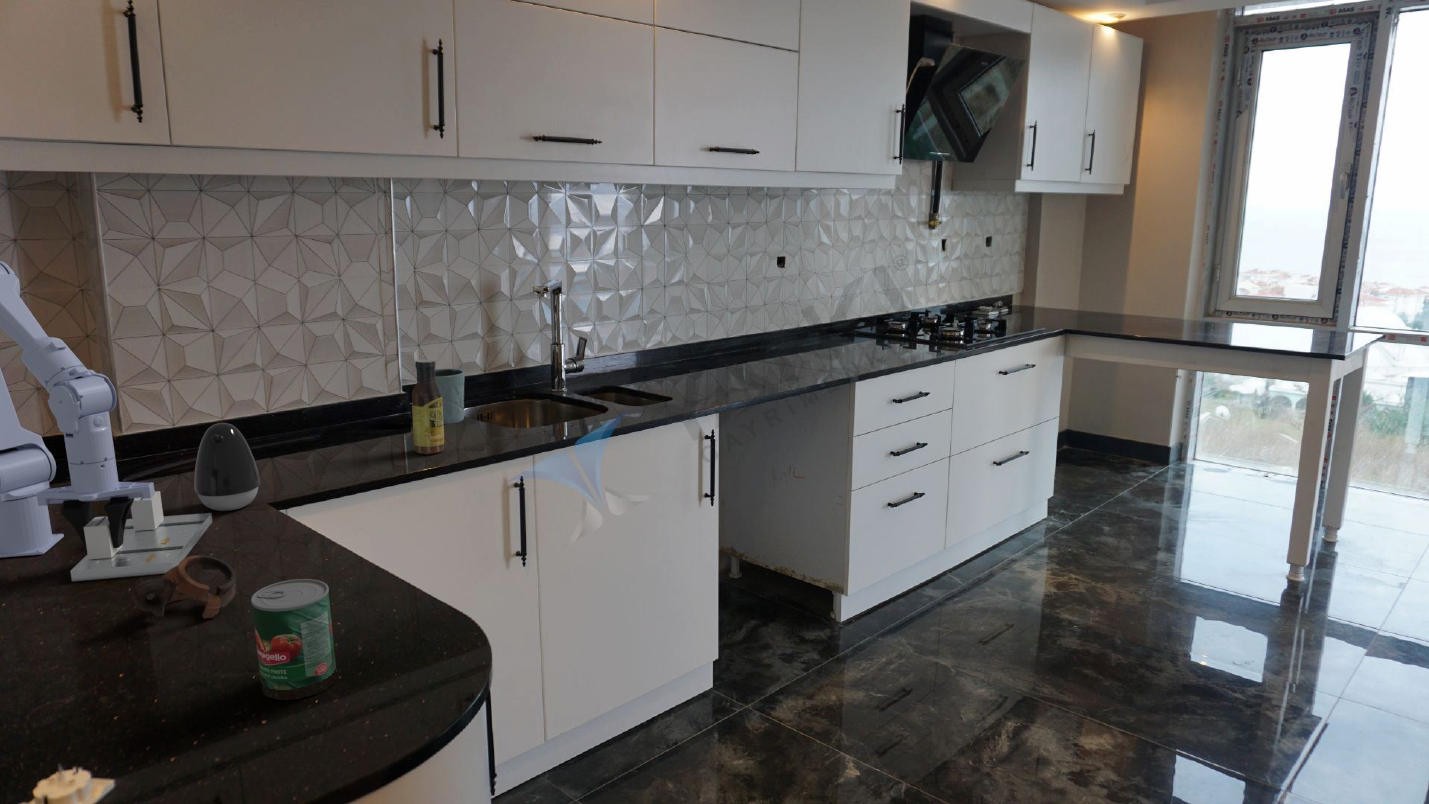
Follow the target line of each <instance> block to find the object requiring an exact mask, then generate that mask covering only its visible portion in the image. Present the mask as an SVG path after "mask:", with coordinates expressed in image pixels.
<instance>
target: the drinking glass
mask: <svg viewBox="0 0 1429 804" xmlns="http://www.w3.org/2000/svg"><path fill="white" fill-rule="evenodd" d="M435 378H436V383H437V385H438V388H439V390H440V393H441V395H442V405H443V425H448V424H449V425H451V424H456V423H460V422H463V420H464V419H465V412H464V411H465V403H464V402H465V401H464V400H465V370H463V369H459V368H435Z"/></svg>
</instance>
